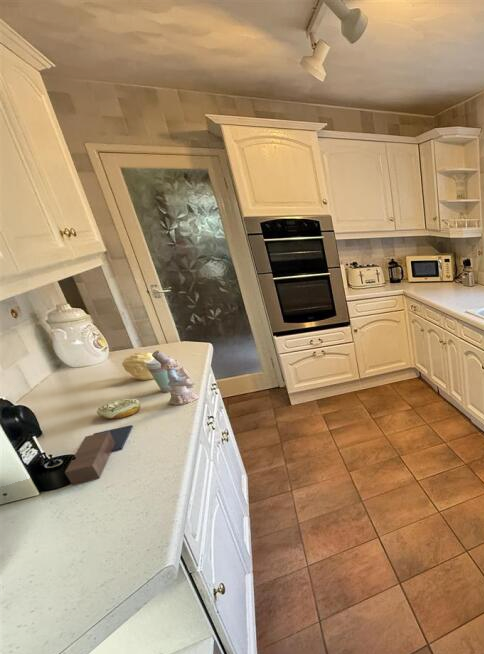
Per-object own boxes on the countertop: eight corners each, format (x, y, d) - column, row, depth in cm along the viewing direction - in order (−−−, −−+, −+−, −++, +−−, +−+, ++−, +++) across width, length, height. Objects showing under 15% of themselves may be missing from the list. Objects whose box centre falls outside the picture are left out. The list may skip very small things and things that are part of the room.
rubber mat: (122, 449, 112) (121, 447, 112) (78, 459, 108) (77, 458, 108) (133, 426, 125) (132, 424, 124) (94, 435, 120) (93, 433, 120)
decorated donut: (110, 423, 127) (105, 413, 125) (94, 417, 131) (88, 407, 129) (148, 409, 135) (144, 399, 134) (131, 404, 139) (127, 394, 138)
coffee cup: (176, 383, 156) (164, 355, 151) (190, 386, 153) (178, 357, 148) (151, 392, 149) (138, 362, 144) (166, 395, 146) (153, 365, 141)
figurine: (170, 408, 136) (147, 354, 127) (168, 401, 141) (146, 348, 133) (201, 400, 141) (181, 347, 133) (198, 393, 147) (179, 342, 139)
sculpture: (124, 383, 158) (112, 357, 154) (149, 371, 169) (139, 348, 164) (152, 382, 158) (142, 357, 153) (176, 371, 169) (166, 347, 164)
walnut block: (92, 465, 98) (109, 431, 113) (64, 472, 96) (85, 436, 110) (99, 478, 100) (115, 442, 114) (72, 485, 98) (92, 448, 112)
